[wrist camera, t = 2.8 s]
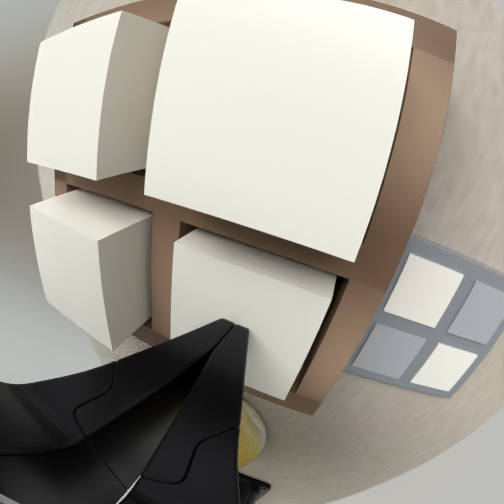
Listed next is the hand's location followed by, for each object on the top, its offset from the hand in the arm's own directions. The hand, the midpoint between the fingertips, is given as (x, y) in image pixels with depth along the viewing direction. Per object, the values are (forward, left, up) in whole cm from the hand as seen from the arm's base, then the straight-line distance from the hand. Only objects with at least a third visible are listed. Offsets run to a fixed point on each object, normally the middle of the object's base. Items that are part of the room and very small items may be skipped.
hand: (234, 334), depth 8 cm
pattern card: (+1, -7, -3) cm, 7 cm away
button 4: (+6, +6, -2) cm, 8 cm away
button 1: (0, 0, -3) cm, 3 cm away
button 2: (+6, 0, -2) cm, 6 cm away
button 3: (0, +6, -2) cm, 6 cm away
